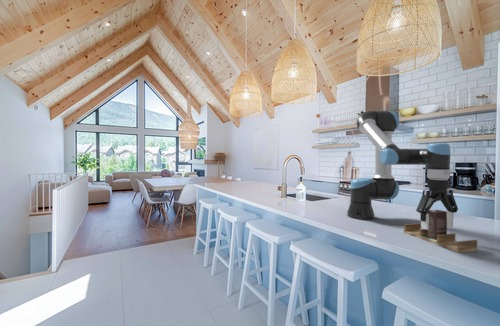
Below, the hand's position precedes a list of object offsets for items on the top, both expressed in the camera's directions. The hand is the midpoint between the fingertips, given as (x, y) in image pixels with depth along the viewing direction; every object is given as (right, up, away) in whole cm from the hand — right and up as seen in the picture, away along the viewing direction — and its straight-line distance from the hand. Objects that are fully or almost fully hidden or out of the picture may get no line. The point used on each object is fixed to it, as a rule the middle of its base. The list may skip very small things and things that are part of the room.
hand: (436, 227), depth 101 cm
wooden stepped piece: (0, -6, 0) cm, 6 cm away
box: (0, -5, 0) cm, 5 cm away
